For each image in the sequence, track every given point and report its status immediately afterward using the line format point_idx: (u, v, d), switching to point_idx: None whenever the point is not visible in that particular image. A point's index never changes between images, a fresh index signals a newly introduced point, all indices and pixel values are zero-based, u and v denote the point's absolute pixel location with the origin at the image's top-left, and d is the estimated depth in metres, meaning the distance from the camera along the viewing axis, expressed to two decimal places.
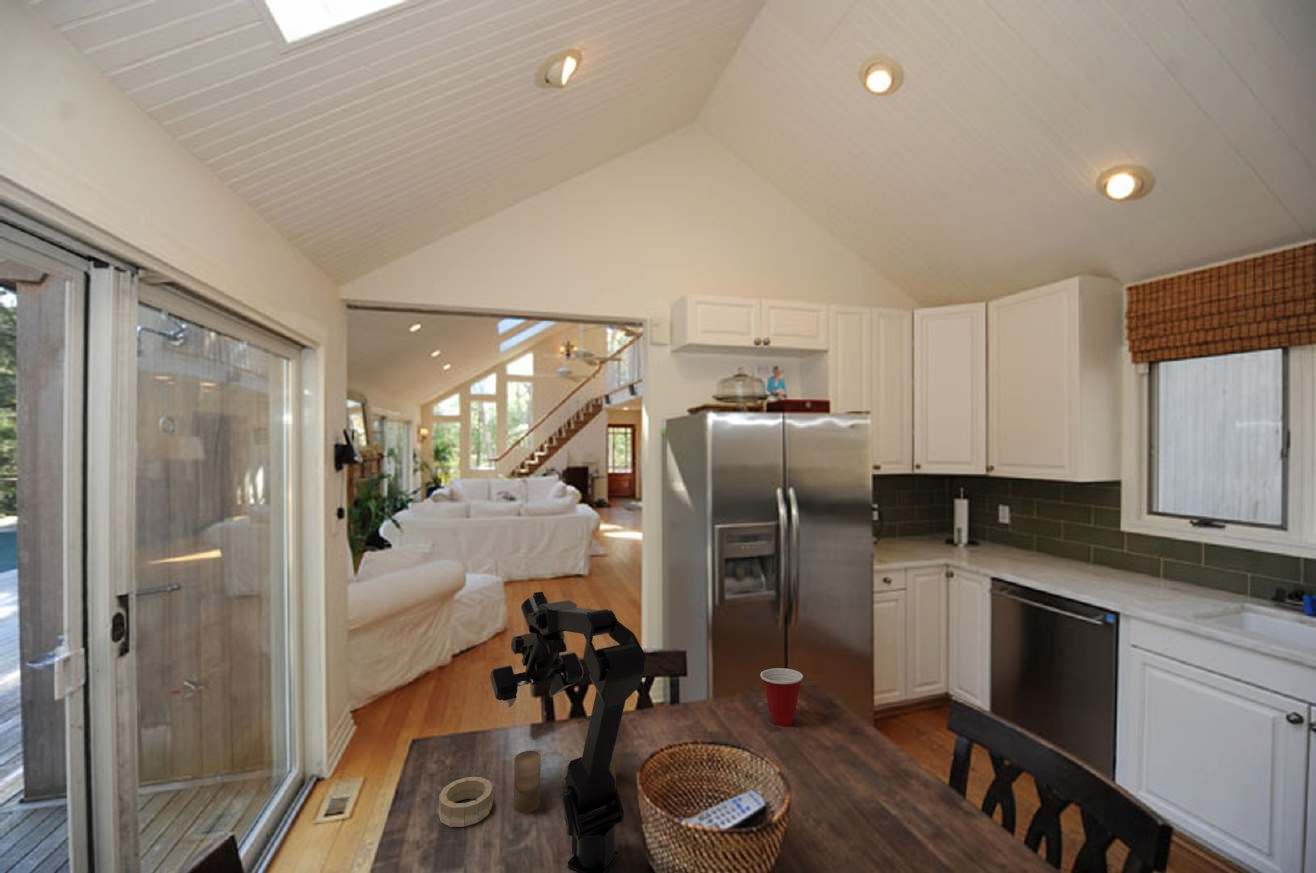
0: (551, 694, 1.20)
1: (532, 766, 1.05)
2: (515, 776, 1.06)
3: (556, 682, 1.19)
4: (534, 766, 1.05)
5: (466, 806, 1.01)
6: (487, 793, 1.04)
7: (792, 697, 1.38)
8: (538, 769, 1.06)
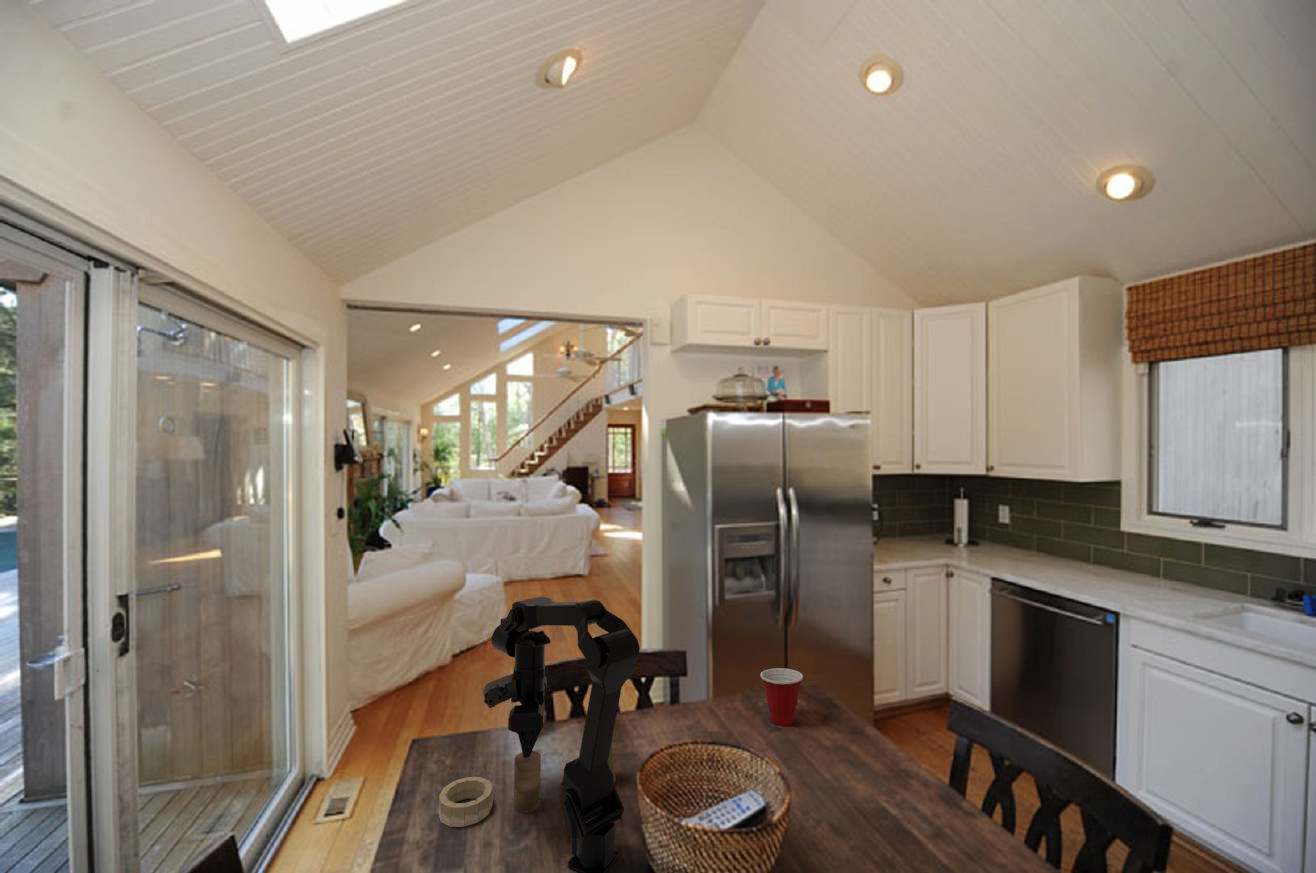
0: None
1: (532, 766, 1.05)
2: (515, 776, 1.06)
3: None
4: (534, 766, 1.05)
5: (466, 806, 1.01)
6: (487, 793, 1.04)
7: (792, 697, 1.38)
8: (538, 769, 1.06)
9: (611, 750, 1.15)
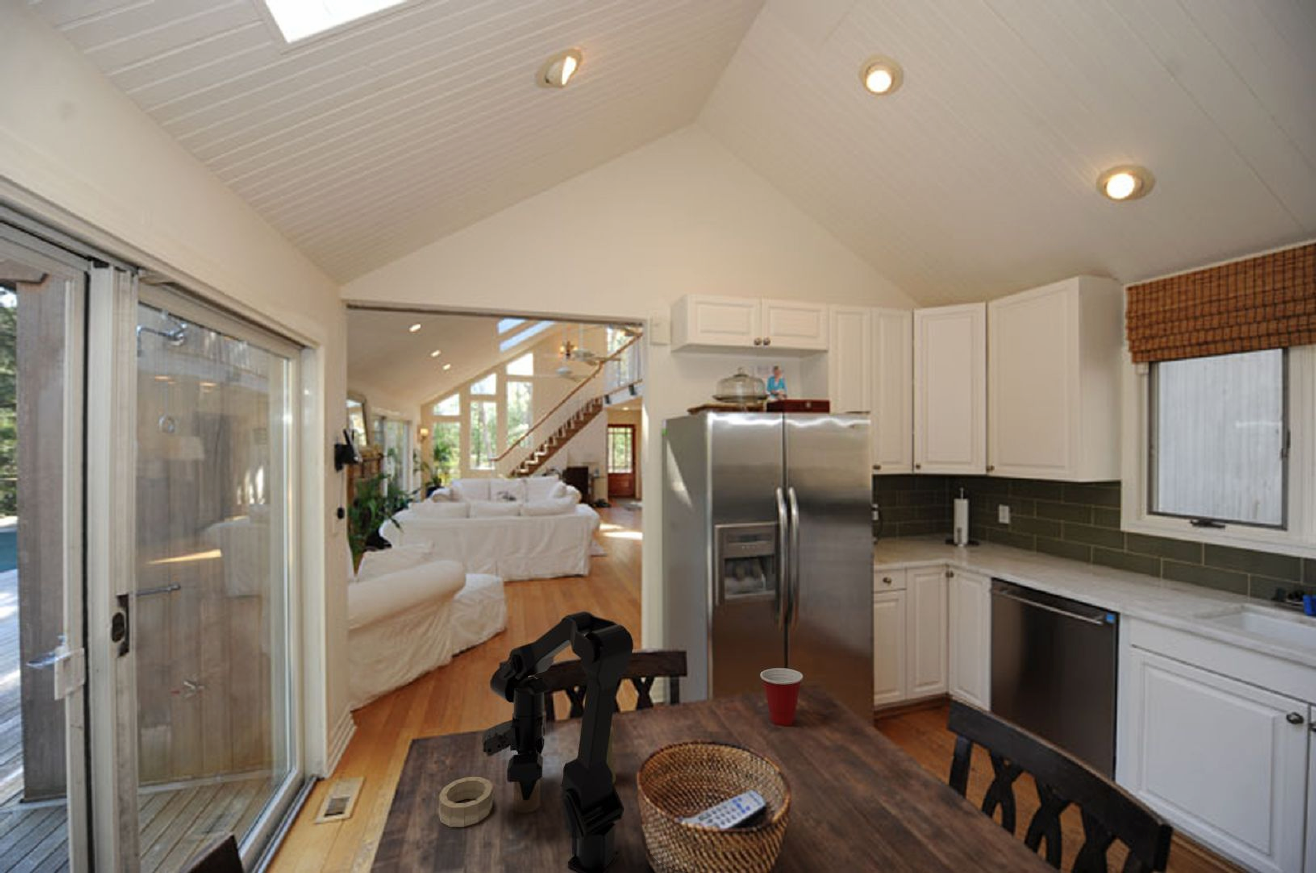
0: None
1: None
2: None
3: None
4: None
5: (466, 806, 1.01)
6: (487, 793, 1.04)
7: (792, 697, 1.38)
8: None
9: (611, 750, 1.15)
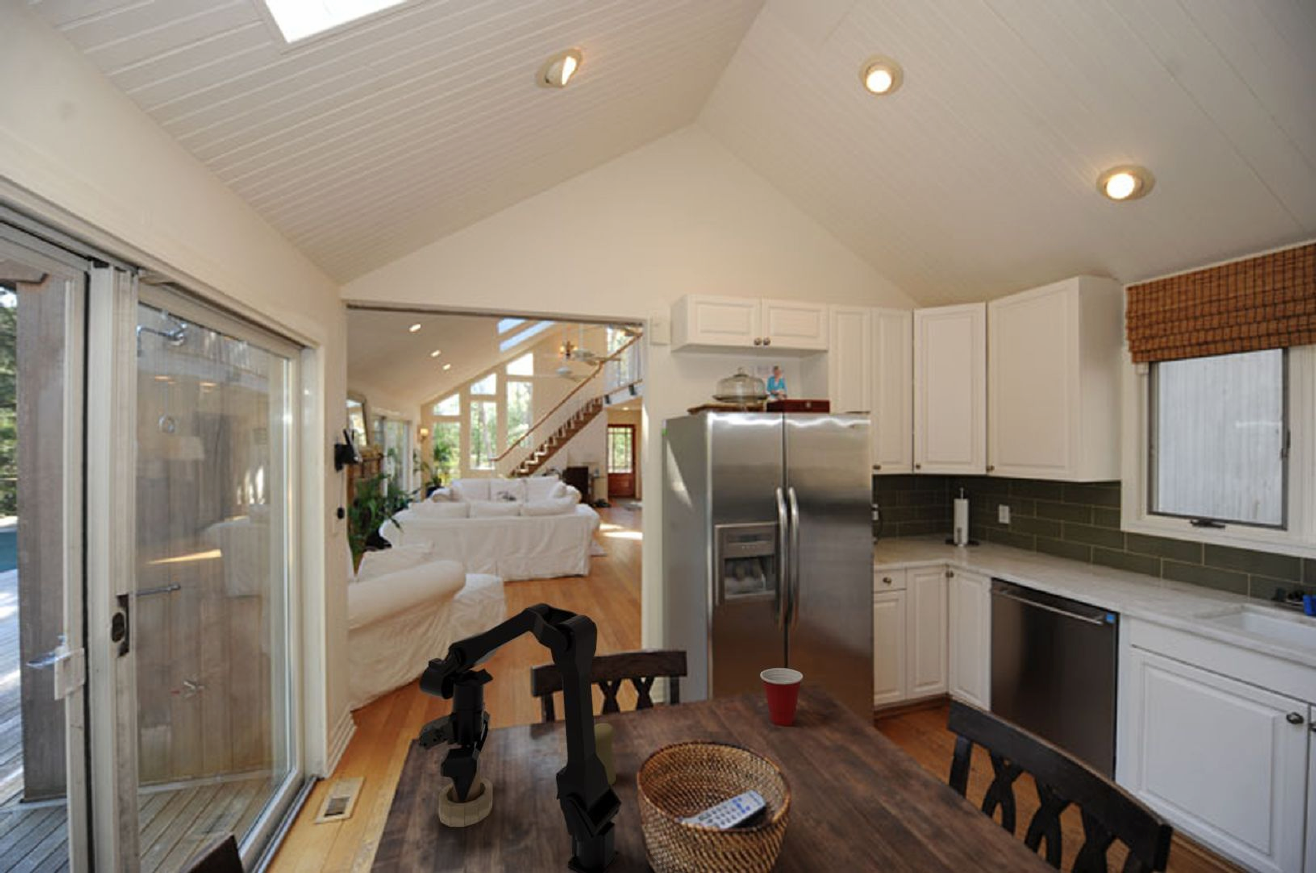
0: None
1: None
2: None
3: None
4: None
5: (466, 806, 1.01)
6: (487, 793, 1.04)
7: (791, 697, 1.38)
8: (477, 774, 1.04)
9: (611, 750, 1.15)
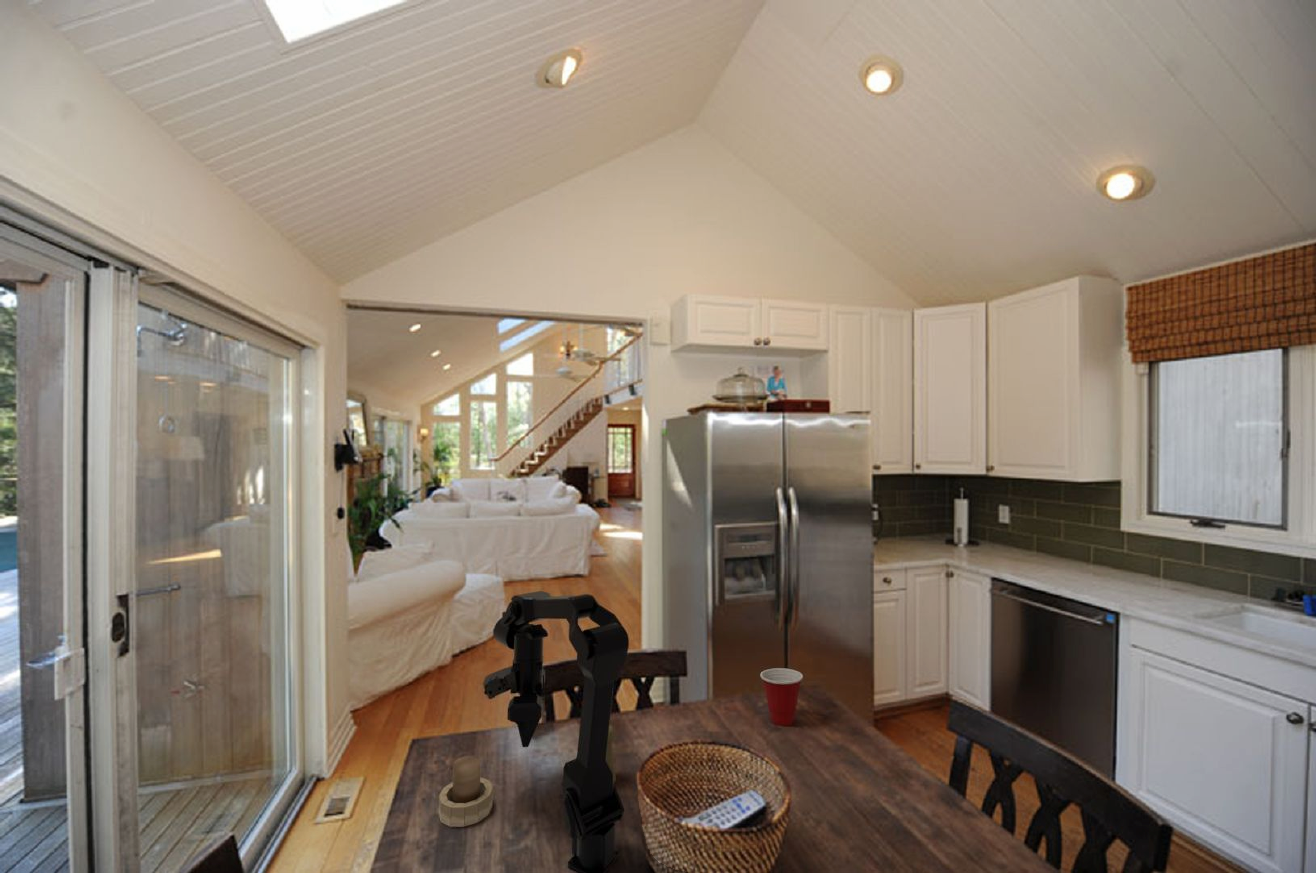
0: None
1: (470, 771, 1.03)
2: (453, 781, 1.04)
3: None
4: (472, 772, 1.03)
5: (466, 806, 1.01)
6: (487, 793, 1.04)
7: (791, 697, 1.38)
8: (477, 774, 1.04)
9: (611, 750, 1.15)
